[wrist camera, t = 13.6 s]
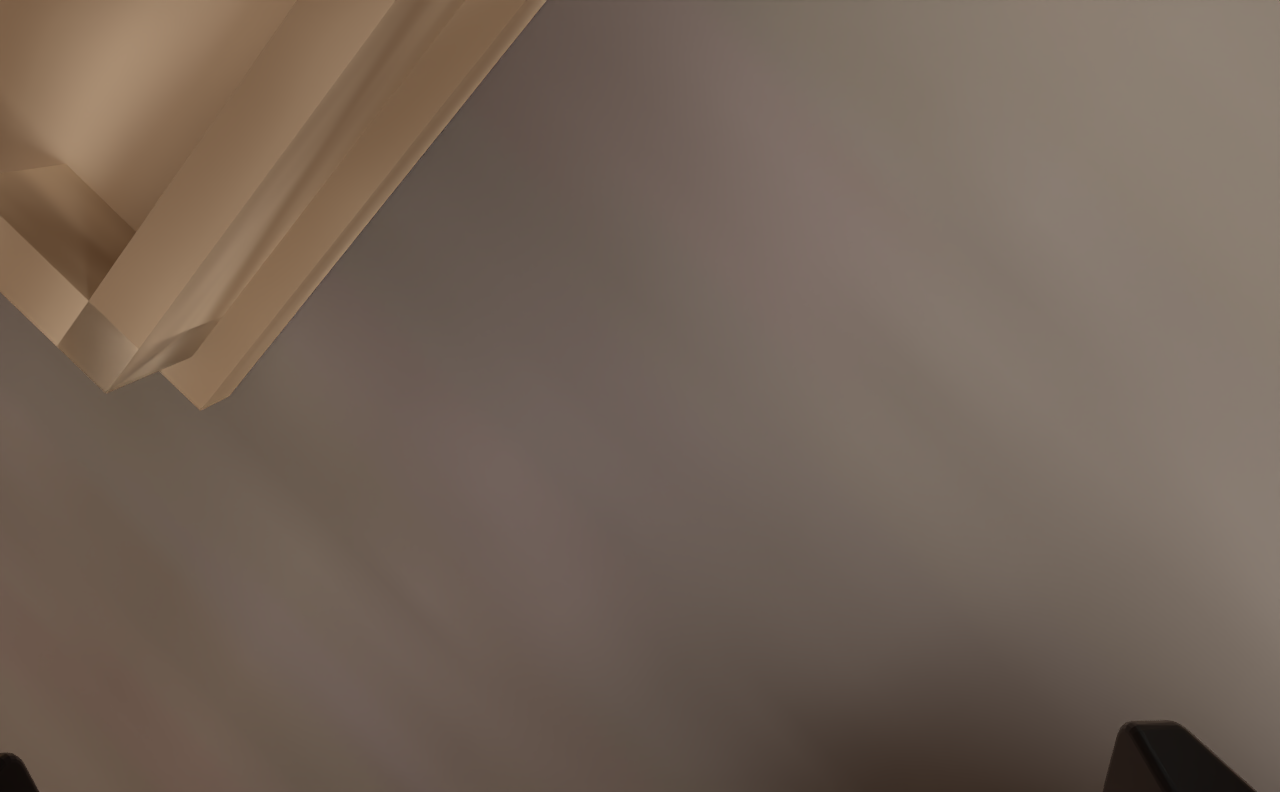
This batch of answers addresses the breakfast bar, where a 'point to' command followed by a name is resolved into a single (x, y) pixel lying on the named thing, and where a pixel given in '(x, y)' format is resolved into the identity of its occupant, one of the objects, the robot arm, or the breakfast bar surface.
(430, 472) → the breakfast bar surface
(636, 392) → the breakfast bar surface
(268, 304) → the wooden tray
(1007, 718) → the breakfast bar surface
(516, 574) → the breakfast bar surface
